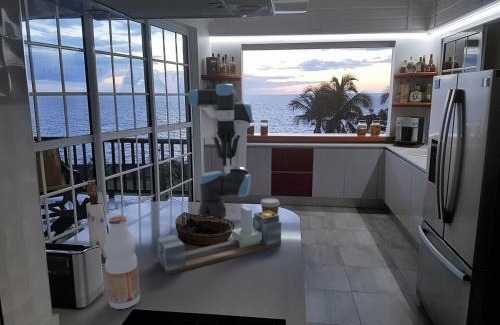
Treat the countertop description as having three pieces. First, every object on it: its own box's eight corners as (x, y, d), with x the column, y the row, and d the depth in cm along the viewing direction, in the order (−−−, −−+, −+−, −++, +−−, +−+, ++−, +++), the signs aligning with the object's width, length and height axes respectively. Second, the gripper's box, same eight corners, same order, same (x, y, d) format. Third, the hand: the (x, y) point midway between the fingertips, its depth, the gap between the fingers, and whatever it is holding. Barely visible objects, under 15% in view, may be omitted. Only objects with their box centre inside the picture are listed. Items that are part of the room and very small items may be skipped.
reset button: (258, 218, 158) (258, 214, 158) (268, 216, 161) (268, 211, 160) (264, 222, 154) (264, 217, 154) (274, 220, 156) (274, 215, 156)
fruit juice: (112, 314, 108) (104, 225, 103) (106, 299, 116) (98, 216, 111) (144, 304, 113) (137, 219, 108) (136, 290, 121) (129, 211, 116)
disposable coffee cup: (279, 220, 185) (279, 197, 183) (279, 227, 176) (279, 203, 174) (261, 219, 186) (261, 197, 184) (260, 226, 177) (259, 203, 175)
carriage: (232, 240, 156) (231, 207, 153) (250, 236, 161) (249, 203, 158) (243, 249, 148) (242, 213, 145) (262, 244, 152) (261, 209, 149)
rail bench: (158, 261, 142) (156, 231, 139) (266, 235, 166) (266, 209, 164) (167, 274, 132) (165, 242, 129) (281, 244, 156) (281, 216, 154)
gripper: (215, 121, 151) (217, 176, 156) (242, 119, 158) (244, 172, 162) (208, 120, 158) (210, 173, 162) (234, 118, 164) (236, 169, 169)
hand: (227, 172), depth 162 cm, fingers closed
